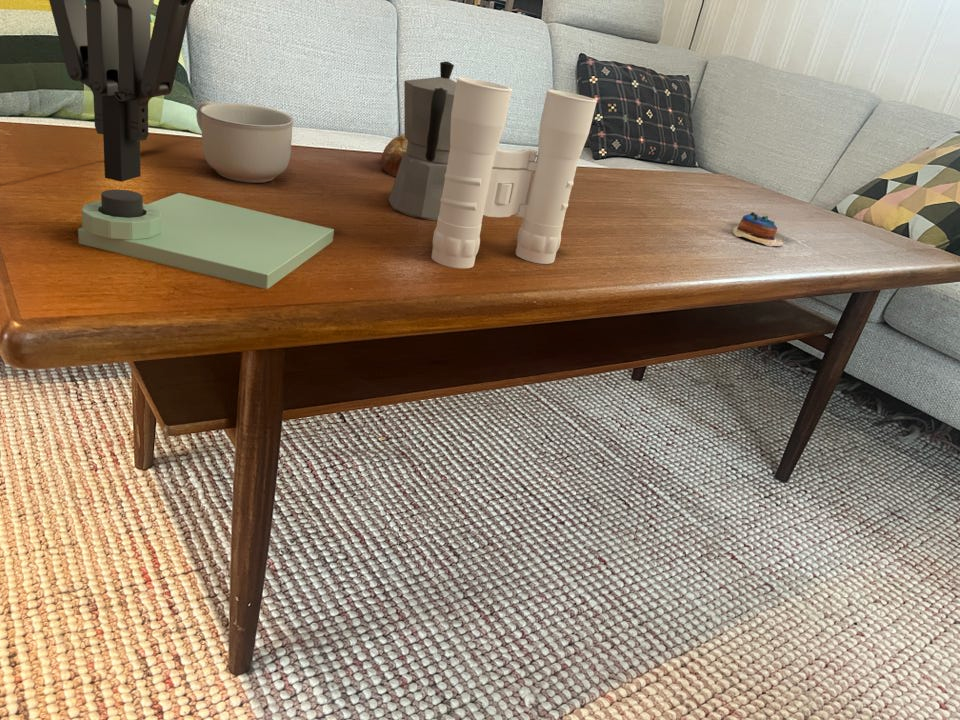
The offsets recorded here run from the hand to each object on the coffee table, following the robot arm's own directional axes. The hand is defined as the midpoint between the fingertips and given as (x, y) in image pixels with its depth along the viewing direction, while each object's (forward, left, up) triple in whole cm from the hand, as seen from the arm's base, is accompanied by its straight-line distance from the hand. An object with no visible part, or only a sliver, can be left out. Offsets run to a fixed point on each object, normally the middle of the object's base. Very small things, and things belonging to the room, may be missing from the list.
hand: (123, 176), depth 62 cm
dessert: (+67, +63, -6) cm, 92 cm away
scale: (+6, +6, -6) cm, 10 cm away
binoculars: (+31, +21, -6) cm, 38 cm away
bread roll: (+13, +53, -6) cm, 55 cm away
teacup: (-5, +31, -6) cm, 32 cm away
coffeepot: (+19, +33, -6) cm, 39 cm away
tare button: (0, 0, -3) cm, 3 cm away
